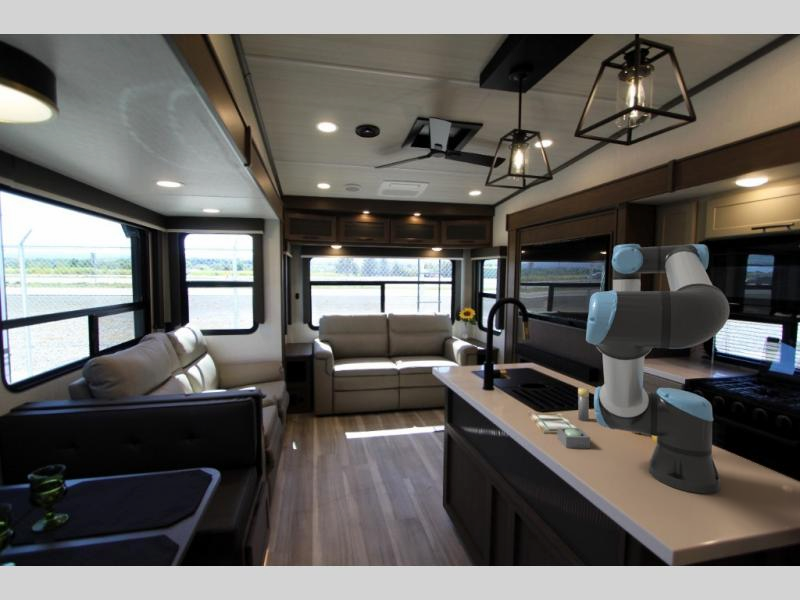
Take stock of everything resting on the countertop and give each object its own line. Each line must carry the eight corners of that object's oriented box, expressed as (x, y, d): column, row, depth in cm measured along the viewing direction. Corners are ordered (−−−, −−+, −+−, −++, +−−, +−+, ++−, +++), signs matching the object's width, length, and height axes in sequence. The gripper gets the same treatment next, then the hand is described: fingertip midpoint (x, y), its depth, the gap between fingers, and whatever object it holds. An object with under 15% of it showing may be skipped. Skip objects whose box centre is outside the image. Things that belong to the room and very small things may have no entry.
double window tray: (581, 433, 126) (581, 430, 126) (543, 433, 127) (543, 429, 127) (561, 415, 144) (561, 412, 144) (528, 415, 145) (528, 412, 145)
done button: (584, 446, 117) (584, 435, 117) (568, 446, 117) (568, 434, 117) (577, 439, 122) (577, 428, 122) (562, 439, 122) (562, 428, 122)
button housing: (589, 448, 115) (590, 437, 115) (566, 447, 116) (566, 437, 116) (579, 438, 123) (579, 428, 123) (557, 438, 123) (557, 428, 123)
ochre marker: (590, 421, 138) (590, 390, 138) (580, 421, 138) (580, 390, 138) (586, 417, 142) (586, 387, 141) (576, 417, 142) (576, 387, 142)
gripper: (655, 293, 107) (654, 371, 108) (623, 292, 123) (623, 359, 124) (629, 293, 107) (628, 371, 108) (601, 292, 124) (601, 359, 124)
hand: (625, 364), depth 116 cm, fingers closed on teal marker, 3 cm apart
